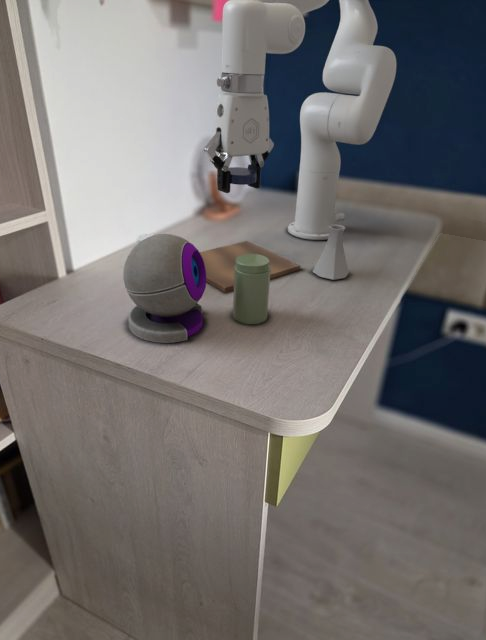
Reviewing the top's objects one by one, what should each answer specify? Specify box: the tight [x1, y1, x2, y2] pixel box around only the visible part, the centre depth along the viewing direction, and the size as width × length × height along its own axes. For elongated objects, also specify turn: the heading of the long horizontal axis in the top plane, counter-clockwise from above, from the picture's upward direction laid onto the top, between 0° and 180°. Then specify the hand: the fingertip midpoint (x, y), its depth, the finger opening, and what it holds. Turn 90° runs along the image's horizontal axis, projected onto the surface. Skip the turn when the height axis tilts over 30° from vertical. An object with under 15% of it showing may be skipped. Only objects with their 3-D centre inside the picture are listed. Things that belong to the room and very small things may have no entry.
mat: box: [199, 240, 301, 293], centre depth 105 cm, size 20×18×1 cm
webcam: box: [122, 233, 207, 344], centre depth 79 cm, size 13×13×15 cm
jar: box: [232, 254, 271, 325], centre depth 84 cm, size 6×6×10 cm
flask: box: [312, 223, 350, 281], centre depth 101 cm, size 7×7×10 cm
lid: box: [228, 166, 257, 186], centre depth 95 cm, size 7×7×2 cm
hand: (238, 188), depth 97 cm, fingers closed on lid, 6 cm apart
